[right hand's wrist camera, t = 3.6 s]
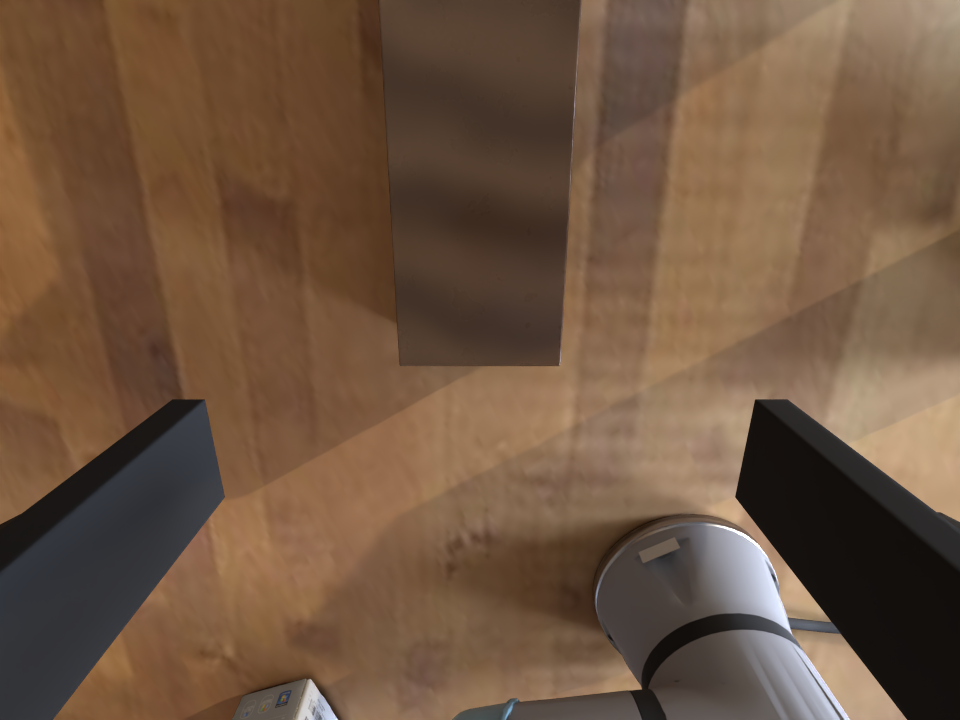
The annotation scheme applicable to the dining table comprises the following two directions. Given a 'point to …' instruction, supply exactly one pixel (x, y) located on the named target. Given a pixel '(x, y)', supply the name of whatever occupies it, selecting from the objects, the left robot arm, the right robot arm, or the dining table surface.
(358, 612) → the dining table surface
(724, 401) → the dining table surface
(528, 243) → the wooden beam
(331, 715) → the hard drive box
